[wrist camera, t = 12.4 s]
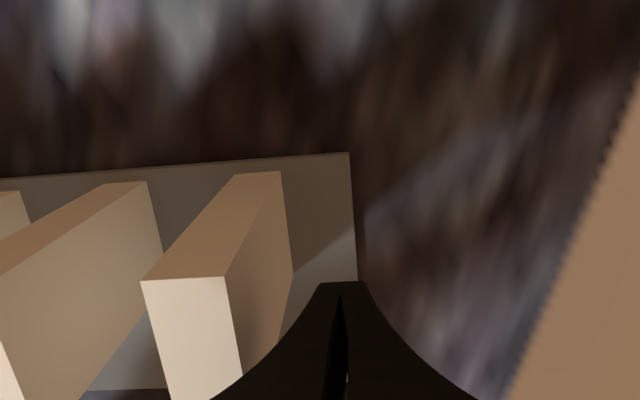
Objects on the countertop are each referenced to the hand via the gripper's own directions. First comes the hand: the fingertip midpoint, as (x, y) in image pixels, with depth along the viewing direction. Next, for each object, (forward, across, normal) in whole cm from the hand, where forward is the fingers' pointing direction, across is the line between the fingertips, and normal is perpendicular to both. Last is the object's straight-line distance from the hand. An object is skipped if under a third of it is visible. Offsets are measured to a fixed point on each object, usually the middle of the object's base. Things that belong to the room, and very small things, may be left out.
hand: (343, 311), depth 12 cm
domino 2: (+7, +4, 0) cm, 8 cm away
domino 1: (+7, +10, 0) cm, 12 cm away
